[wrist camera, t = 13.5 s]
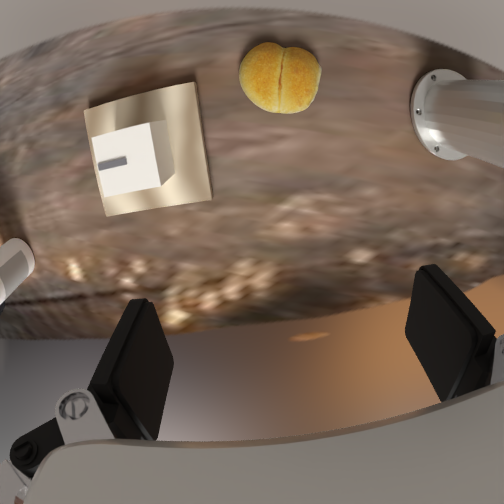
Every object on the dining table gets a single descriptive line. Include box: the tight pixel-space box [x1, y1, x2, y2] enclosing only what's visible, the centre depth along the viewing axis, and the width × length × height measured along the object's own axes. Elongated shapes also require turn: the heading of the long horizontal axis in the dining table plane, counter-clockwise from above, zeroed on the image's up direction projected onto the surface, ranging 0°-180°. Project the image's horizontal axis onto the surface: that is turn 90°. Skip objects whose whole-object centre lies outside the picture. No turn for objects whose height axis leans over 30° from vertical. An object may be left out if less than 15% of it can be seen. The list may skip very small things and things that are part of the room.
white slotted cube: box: [92, 120, 175, 197], centre depth 30 cm, size 6×6×6 cm
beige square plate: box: [84, 82, 213, 217], centre depth 32 cm, size 14×14×6 cm
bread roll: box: [239, 42, 322, 113], centre depth 30 cm, size 8×9×4 cm
